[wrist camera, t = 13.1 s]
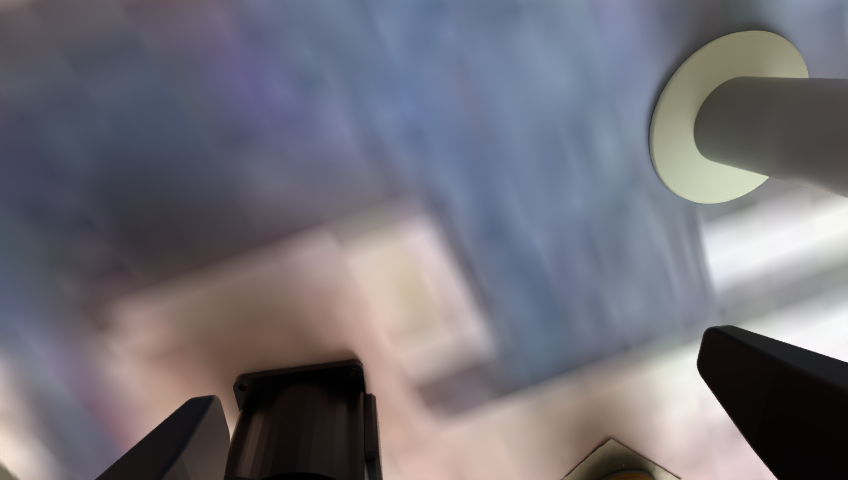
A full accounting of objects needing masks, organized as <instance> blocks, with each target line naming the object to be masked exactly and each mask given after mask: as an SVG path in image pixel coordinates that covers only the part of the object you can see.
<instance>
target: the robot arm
mask: <svg viewBox="0 0 848 480" xmlns="http://www.w3.org/2000/svg"><path fill="white" fill-rule="evenodd" d="M352 368H356V369H358V370H357V371H351V370H350V369H352ZM697 368H698V371H699V374H700V376H701V377H702V379H703V380H704V381H705V383H706V384H707V386H708V387H709V388H710V390H711V391H712V393H713V394H714V396H715V397H716V398H717V400H718V401H719V403H720V404H721V406H722V407H723V408H724V410H725V411H726V413H727V414H728V416H729V417H730V418H731V420H732V421H733V423H734V424H735V425H736V427H737V428H738V430H739V431H740V433H741V434H742V435H743V437H744V438H745V440H746V441H747V442H748V444H749V445H750V446H751V448H752V449H753V450H754V451H755V453H756V454H757V455H758V456H759V458H760V459H761V460H762V461H763V463H764V464H765V465H766V466H767V467H768V469H769V470H770V471H771V472H772V473H773V475H774V476H775V477H776V478H777V479H778V480H848V363H847V362H844V361H841V360H838V359H835V358H832V357H829V356H826V355H822V354H819V353H816V352H813V351H810V350H807V349H804V348H801V347H797V346H794V345H791V344H788V343H785V342H782V341H779V340H776V339H773V338H769V337H766V336H763V335H760V334H757V333H754V332H751V331H748V330H744V329H741V328H738V327H735V326H732V325H722V326H714V327H710V328H708V329H706V331H705V332H704V334H703V338H702V342H701V346H700V350H699V354H698V359H697ZM242 383H245V384H247V385H248V386H243V385H241V384H242ZM233 389H234V393H235V397H236V400H237V404H238V408H239V411H240V414H239V417H238V420H237V423H236V426H235V429H234V432H233V435H232V438H231V441H230V434H229V429H228V425H227V422H226V418H225V415H224V411H223V408H222V405H221V401H220V399H219V398H218V397H217V396H215V395H208V396H201V397H194V398H191V399H189V400H188V401H186V402H185V403H184V404H183V405H182V406H180V407H179V408H178V409H177V410H176V411H175V412H173V413H172V414H171V415H170V416H169V417H168V418H166V419H165V420H164V421H163V422H162V423H161V424H159V425H158V426H157V427H156V428H155V429H154V430H152V431H151V432H150V433H149V434H148V435H146V436H145V437H144V438H143V439H142V440H141V441H139V442H138V443H137V444H136V445H135V446H134V447H132V448H131V449H130V450H129V451H128V452H127V453H125V454H124V455H123V456H122V457H121V458H120V459H118V460H117V461H116V462H115V463H114V464H113V465H111V466H110V467H109V468H108V469H107V470H105V471H104V472H103V473H102V474H101V475H100V476H98V477H97V478H96V479H95V480H383V473H382V459H381V445H380V431H379V422H378V413H377V405H376V397H375V396H374V395H373V394H372V393H370V394H367V392H366V384H365V376H364V368H363V364H362V363H361V362H360V361H359V360H346V361H338V362H331V363H323V364H316V365H309V366H301V367H294V368H286V369H279V370H271V371H264V372H257V373H249V374H243V375H240V376H238V377H237V378H236V380H235V383H234V385H233Z"/></svg>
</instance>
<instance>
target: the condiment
mask: <svg viewBox="0 0 848 480" xmlns="http://www.w3.org/2000/svg"><path fill="white" fill-rule="evenodd" d="M623 464H624V466H623ZM563 480H679V479H678V478H676V477H674V476H673V475H671V474H670V473H668V472H666V471H665V470H663V469H662V468H660V467H659V466H656V465H655V464H654V463H652V462H650V461H648V460H646V459H644V458H642V457H641V456H640V455H638V454H636V453H635V452H633V451H632V450H630V449H628V448H627V447H624V446H622V445H621V444H619V443H618V442H616V441H614V440H613V439H610V440H609V441H608V442H606V443H605V444H604V445H603V446H602V447H599V448H598V449H597V450H596V451H595V452H594V453H592V454H591V455H590V456H589V457H588V458H587V459H586V460H585V461H583V462H582V463H581V464H579V465H578V466H577V467H576V468H575V469H574V470H573V471H572V472H571V473H570V474H569V475H568V476H567V477H564V478H563Z"/></svg>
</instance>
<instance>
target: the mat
mask: <svg viewBox="0 0 848 480" xmlns="http://www.w3.org/2000/svg"><path fill="white" fill-rule="evenodd" d="M741 76H754V77H789V78H809V75H808V71H807V68H806V65H805V63H804V60H803V58H802V56H801V55H800V53H799V52H798V50H797V49H796V48H795V47H794V46H793V45H792V44H791V43H790V42H789V41H787V40H786V39H784V38H783V37H781V36H779V35H776V34H774V33H770V32H766V31H744V32H736V33H731V34H728V35H724V36H722V37H719V38H717V39H715V40H713V41H711V42H709V43H708V44H706V45H704V46H702V47H701V48H700V49H698V50H697V51H696V52H694V53H693V54H692V55H691V56H690V57H689V58H688V59H687V60H685V61H684V62H683V63H682V65H681V66H680V67H679V68H678V69H677V70H676V71H675V73H674V74H673V76H672V77H671V78H670V80H669V81H668V83H667V84H666V86H665V88H664V90H663V91H662V93H661V95H660V98H659V100H658V102H657V104H656V107H655V110H654V114H653V117H652V122H651V126H650V136H649V147H650V155H651V160H652V163H653V167H654V169H655V171H656V173H657V175H658V177H659V179H660V180H661V181H662V183H663V184H664V185H665V186H666V187H667V188H668V189H669V190H670V191H672V192H673V193H675V194H676V195H678V196H680V197H683V198H685V199H687V200H690V201H694V202H697V203H706V204H708V203H720V202H725V201H729V200H732V199H735V198H737V197H740V196H742V195H744V194H746V193H748V192H750V191H751V190H753V189H755V188H756V187H757V186H759V185H760V184H762V183H763V182H764V181H765V180H766V179H768V178H769V177H768V176H764V175H761V174H757V173H753V172H750V171H746V170H742V169H738V168H735V167H731V166H727V165H723V164H720V163H716V162H713V161H710V160H708V159H706V158H705V157H703V156H702V155H701V154H700V153H699V151H698V149H697V147H696V145H695V141H694V123H695V119H696V116H697V114H698V111H699V109H700V107H701V105H702V104H703V102H704V100H705V99H706V98H707V96H708V95H709V94H710V93H711V92H712V91H713V90H714V89H715V88H716V87H718V86H719V85H720V84H722V83H724V82H725V81H727V80H730V79H732V78H735V77H741Z"/></svg>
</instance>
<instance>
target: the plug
mask: <svg viewBox="0 0 848 480" xmlns="http://www.w3.org/2000/svg"><path fill="white" fill-rule="evenodd" d="M694 141H695V145H696V147H697V149H698V151H699V153H700V154H701V155H702V156H703V157H705V158H706V159H708V160H710V161H713V162H716V163H720V164H723V165H727V166H731V167H735V168H738V169H742V170H746V171H750V172H753V173H757V174H761V175H764V176H768V177H772V178H776V179H779V180H783V181H787V182H791V183H794V184H798V185H802V186H806V187H809V188H813V189H817V190H820V191H824V192H828V193H832V194H835V195H839V196H843V197H847V198H848V79H825V78H789V77H754V76H741V77H735V78H732V79H730V80H727V81H725V82H724V83H722V84H720V85H719V86H718V87H716V88H715V89H714V90H713V91H712V92H711V93H710V94H709V95H708V96H707V98H706V99H705V100H704V102H703V104H702V105H701V107H700V109H699V111H698V114H697V116H696V119H695V123H694Z"/></svg>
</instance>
